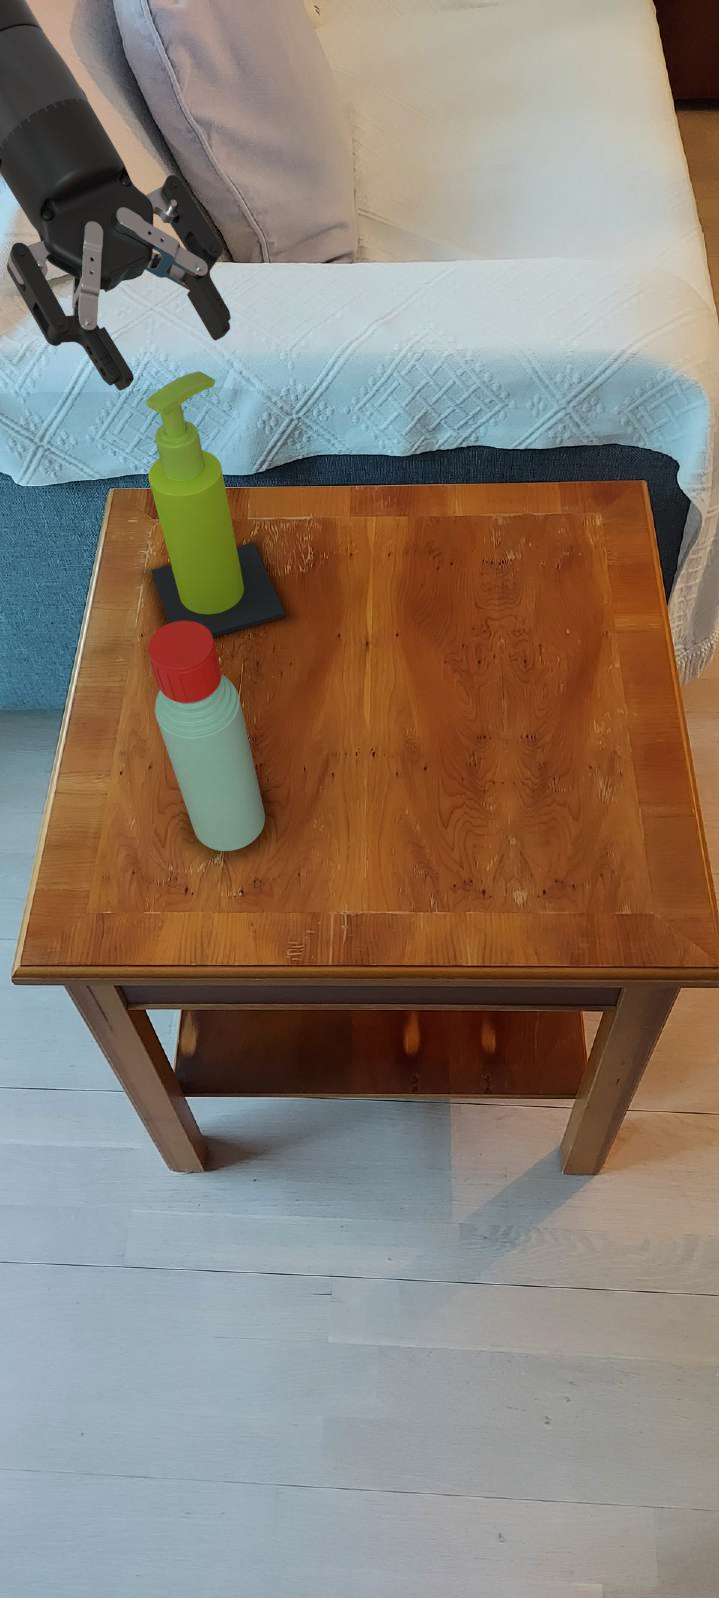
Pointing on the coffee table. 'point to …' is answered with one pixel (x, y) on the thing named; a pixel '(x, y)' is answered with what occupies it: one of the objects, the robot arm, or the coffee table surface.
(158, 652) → the cap
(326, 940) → the coffee table surface
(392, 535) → the coffee table surface
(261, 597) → the mat
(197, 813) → the bottle
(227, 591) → the soap dispenser
